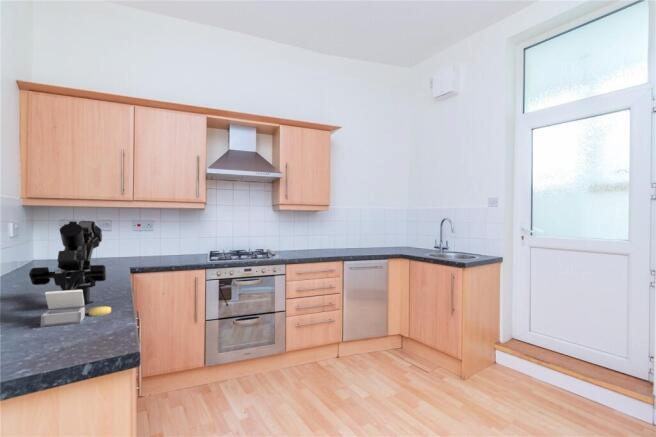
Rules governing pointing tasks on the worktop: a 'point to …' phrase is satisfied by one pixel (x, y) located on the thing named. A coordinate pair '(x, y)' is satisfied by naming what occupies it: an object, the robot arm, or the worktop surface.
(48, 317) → the grey frame
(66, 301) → the lid
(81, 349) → the worktop surface
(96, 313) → the yellow rounded disc
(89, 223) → the robot arm
